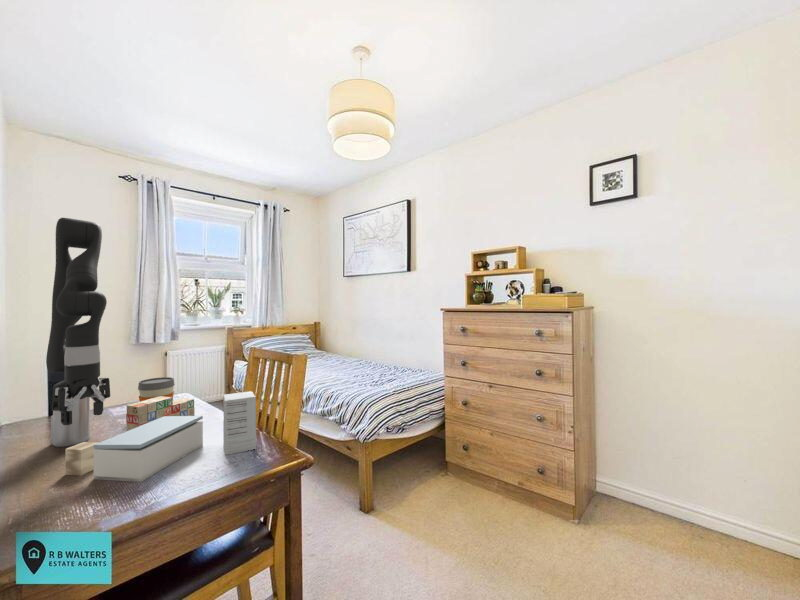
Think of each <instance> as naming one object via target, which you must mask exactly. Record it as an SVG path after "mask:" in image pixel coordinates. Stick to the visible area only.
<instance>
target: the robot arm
mask: <svg viewBox="0 0 800 600" xmlns="http://www.w3.org/2000/svg"><path fill="white" fill-rule="evenodd" d="M102 239H103V233H102V228H101V225H100V224H99V223H97V222H94V221H90V220H89V221H88V220H82V219H77V218H71V217H69V218H68V217H60V218H59V219H57V222H56V226H55V268H54V278H53V279H54V280H53V287H52V296H51V299H52V301H51V322H50V323H51V324H50V331H49V340H48V344H47V351H46V356H45V357H46V359H45V362H46V368H47V371H48V372H50V373H51V374H57V373H59V374H60V373H61V374H62V373H64V380H61V381H59V382H57V383H55V384H54V385H53V387H52V398H51V412H52V415H51V416H50V445H52V446H53V447H57V448H58V447H59V448H61V447H62V448H63V447H68V446H69V447H71V446H75V445H77V444H80V443H82V442H88V440H90V439H91V428H90V427H91V417H90V416H91V414H90V413H91V412H90V411H91V407H90V404H91V403H90V402H91V401H90V399H92V401H93V403H92V404H93V405H92V406H93V413H92V415H94V416H101V415H102V414H103V412H104V401H105V400H106V399H108V398H110V397H111V387H110V386H111V384H110V378H109V377H101V349H100V343H99V341H100V335H99V334H100V327H101V326H100V325H101V322H102V318H103V316H104V313H105V310H106V307H107V303H108V301H107V297H106V296H105V294H103V293H102V292H100V291H96V290H97V288H98V281H99V280H98V265H99V264H98V263H99V261H100V260H99V259H100V256H101V255H100V254H101V247H102V241H103V240H102ZM69 248H75V249H83V250H84V251H83V252H82V253H80V254H79V255H77V256H76V257H75V258H73V259H72V257H71V254H70V250H69ZM83 317H89V320H87V321H86V322H83V323H79V321H80V320H81V319H82V318H83ZM77 323H78V324H77Z"/></svg>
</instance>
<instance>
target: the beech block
mask: <svg viewBox="0 0 800 600" xmlns="http://www.w3.org/2000/svg"><path fill="white" fill-rule="evenodd" d="M97 443H98V442H90V441H85V442H82V443H79V444H75V445H71V446H69V447H67V448H65V449H64V450H65V455H64V456H65V462H64V463H65V466H64V467H65V475H67V476H69V475H71V476H83V475H86V474H87V473H89V472H91V471H94V446H93V445H95V444H97Z"/></svg>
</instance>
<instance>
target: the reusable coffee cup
mask: <svg viewBox="0 0 800 600" xmlns="http://www.w3.org/2000/svg"><path fill="white" fill-rule="evenodd" d="M174 386H175V379H174V377H171V376H169V377H168V376H166V377H165V376H164V377H163V376H162V377H161V376H160V377H152V378H146V379H141V380H140V381H139V382H138V385H137V390H138V391H139V396H138V402H141V401H145V400H148V399H152V398H156V397H160V396H164V397H172V400H173V401H174V394H175V392H174Z"/></svg>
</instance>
